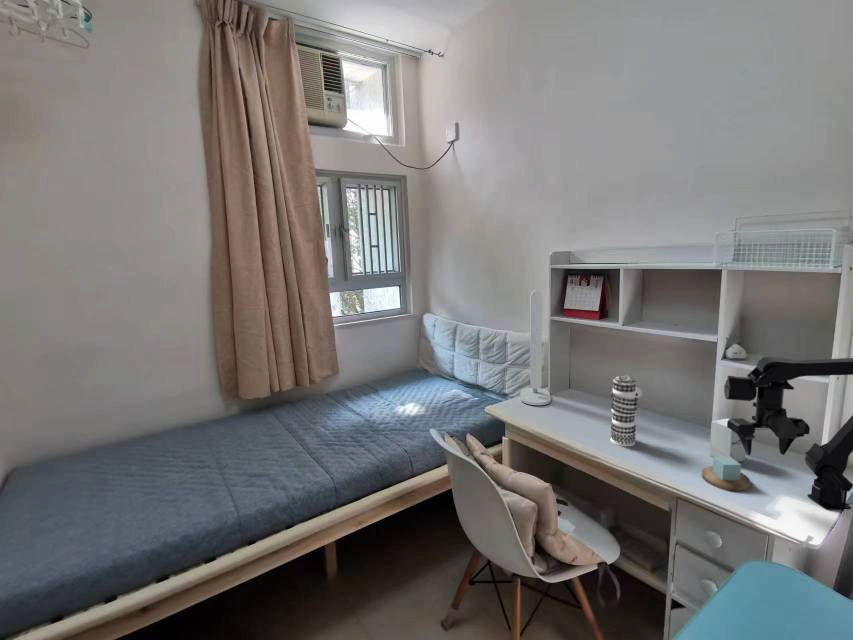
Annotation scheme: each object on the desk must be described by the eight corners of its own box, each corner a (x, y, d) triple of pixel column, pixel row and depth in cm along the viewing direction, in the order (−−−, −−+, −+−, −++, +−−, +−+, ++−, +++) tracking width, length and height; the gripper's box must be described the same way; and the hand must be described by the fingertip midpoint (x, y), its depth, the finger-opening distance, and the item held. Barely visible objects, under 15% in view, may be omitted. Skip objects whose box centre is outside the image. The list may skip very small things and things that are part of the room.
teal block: (729, 471, 132) (730, 456, 131) (739, 480, 127) (741, 464, 126) (712, 471, 132) (713, 456, 131) (722, 480, 127) (723, 464, 127)
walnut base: (733, 470, 135) (733, 465, 135) (759, 491, 124) (760, 486, 123) (694, 470, 136) (694, 466, 136) (716, 491, 124) (717, 486, 124)
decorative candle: (617, 433, 165) (619, 372, 161) (641, 441, 158) (643, 377, 154) (604, 440, 160) (605, 377, 156) (628, 449, 153) (630, 382, 149)
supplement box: (729, 465, 139) (731, 428, 137) (708, 455, 146) (710, 420, 144) (746, 461, 141) (748, 425, 139) (724, 451, 148) (727, 417, 146)
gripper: (754, 413, 111) (750, 469, 113) (830, 412, 110) (824, 468, 112) (727, 399, 122) (724, 449, 124) (795, 397, 121) (791, 449, 123)
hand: (765, 454), depth 121 cm, fingers open, 9 cm apart
